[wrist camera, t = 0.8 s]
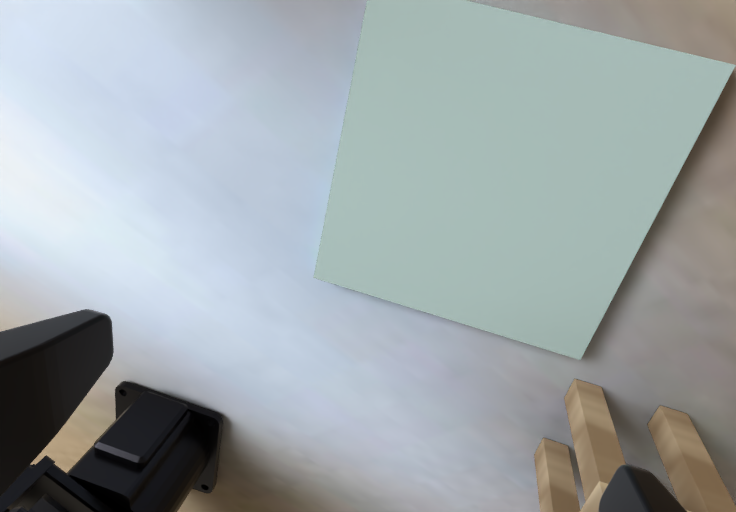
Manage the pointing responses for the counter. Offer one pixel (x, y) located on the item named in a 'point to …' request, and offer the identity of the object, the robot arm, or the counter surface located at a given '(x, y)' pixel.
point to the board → (505, 165)
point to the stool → (604, 455)
